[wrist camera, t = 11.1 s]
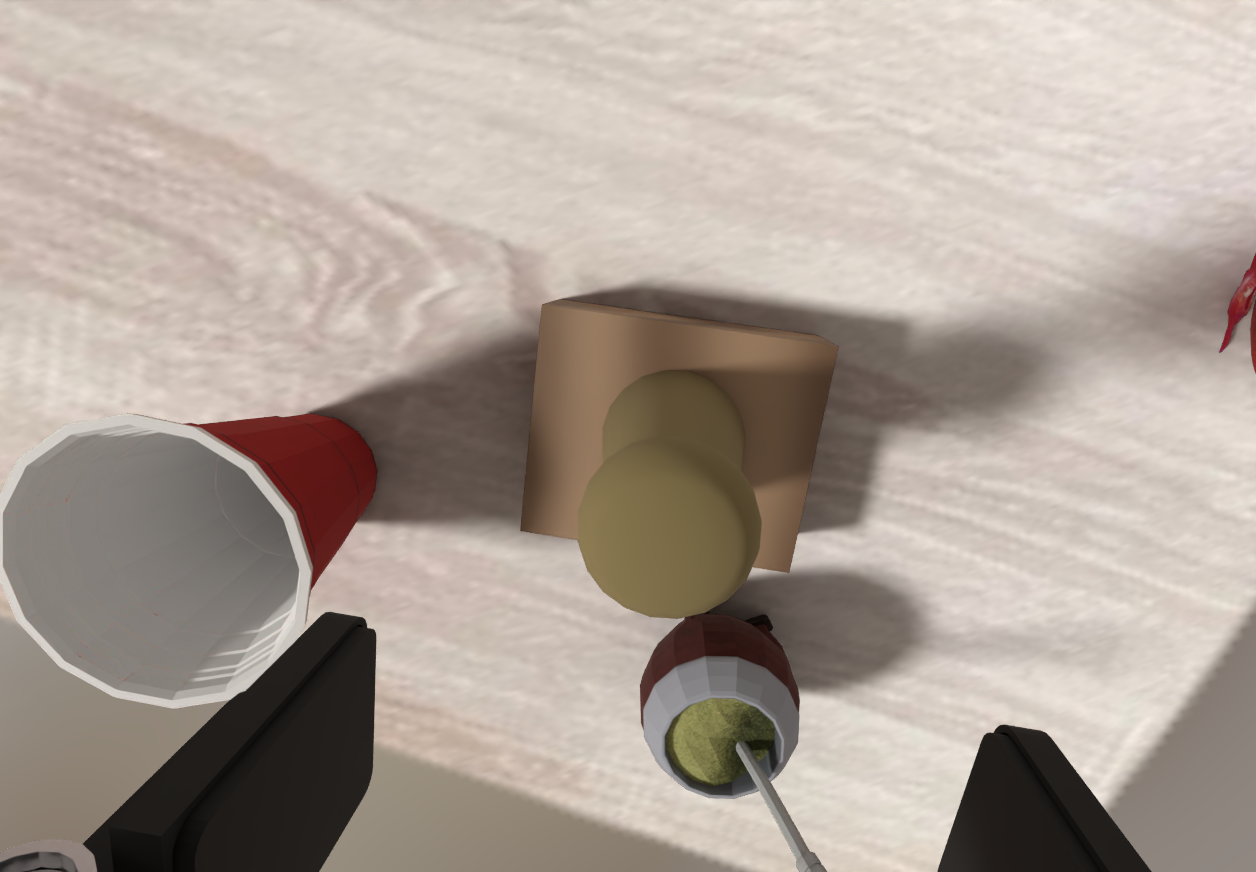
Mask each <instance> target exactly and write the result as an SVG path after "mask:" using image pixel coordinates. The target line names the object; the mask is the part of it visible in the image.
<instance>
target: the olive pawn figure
mask: <svg viewBox="0 0 1256 872" xmlns="http://www.w3.org/2000/svg"><path fill="white" fill-rule="evenodd" d="M744 444H745V430H744V426H743V423H742V419H741V415H740V412H739V410H738V409H737V407H736V405H735V404H734V402H733V401H732V399H731V398H730V396H729V395H728V393H727V392H725V391H724V390H723V389H721V388H720V387H719V386H718V385H716V384H715V383H714V382H713V381H711V380H710V379H708V378H705V377H703V376H700V375H697V374H694V373H692V372H689V371H673V370H663V371H660V372H656V373H653V374H649V375H645V376H642V377H641V378H639V379H638V380H636V381H635V382H633V383H632V384H630V385H629V386H627V387H626V388H624V389H623V390H622V392H621V393H620V394H619V395H618V397H617V398H616V399H615V400H614V402H613V403H612V404H611V406H610V407H609V410H608V413H607V416H606V419H605V422H604V424H603V433H602V455H603V464H602V465H601V466H600V468H599V469H598V470H597V471H596V473H595V474H594V475H593V476H592V478H591V479H590V481H589V483H588V485H587V487H586V490H585V493H584V495H583V498H582V501H581V504H580V507H579V509H578V542H579V547H580V550H581V553H582V556H583V559H584V562H585V565H586V568H587V571H588V572H589V573H590V575H591V576H592V577H593V579H594V580H595V581H596V583H597V584H598V585H599V587H600V588H601V589H602V591H603V592H604V593H606V594H607V595H608V596H610V597H611V598H612V599H614V600H615V601H617V602H618V603H619V604H621V605H622V606H623V607H625V608H627V609H630V610H633V611H636V612H638V613H641V614H644V615H647V616H650V617H660V618H675V619H679V618H683V617H688V616H692V615H697V614H701V613H705V612H707V611H709V610H711V609H712V608H714V607H716V606H718V605H719V604H721V603H723V602H725V601H727V600H728V599H729V598H730V597H731V596H732V595H733V594H734V593H735V592H736V591H737V590H738V589H739V587H740V586H741V585H742V584H743V583H744V582H745V581H746V580H747V578H748V575H749V573H750V571H751V569H752V566H753V564H754V562H755V560H756V558H757V555H758V552H759V549H760V539H761V527H762V520H761V516H760V512H759V508H758V504H757V501H756V497H755V493H754V491H753V488H752V486H751V485H750V483H749V482H748V480H747V479H746V477H745V476H744V474H743V473H742V471H741V470H742V463H743V456H744Z"/></svg>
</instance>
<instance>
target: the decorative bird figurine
mask: <svg viewBox="0 0 1256 872" xmlns="http://www.w3.org/2000/svg"><path fill="white" fill-rule="evenodd" d="M1255 294H1256V254H1255V256H1254V259H1253V262H1252V264H1251V267H1250V269H1248V270H1247V271H1246V273H1245V275H1244V278H1243V280H1242V283H1241V285H1240V286H1239V288H1238V289H1237V290H1236V292H1235V294H1234V296H1233V298H1232V299H1231V302H1230V305H1229V308H1228V316H1229V320H1228V328H1227V330H1226V333H1225V337H1224V340H1223V343H1222V346H1221V349H1220V351H1219V353H1220V352H1222V351H1223V350H1224V349H1225V348H1226V346H1227V345H1228V343H1229V341H1230V338H1231V334H1232V331H1233V329H1234V326H1235V325H1236V324H1237V323H1238V322H1239V321H1240V320H1241V319H1242V318H1243V317H1244V316H1245V315H1247V313H1248V311H1249V309H1250V307H1251V305H1252V302H1253V299H1254V297H1255ZM1250 332H1251V356H1252V362H1253V366H1254V370H1255V373H1256V301H1255V304H1254V308H1253V313H1252V318H1251V328H1250Z"/></svg>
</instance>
